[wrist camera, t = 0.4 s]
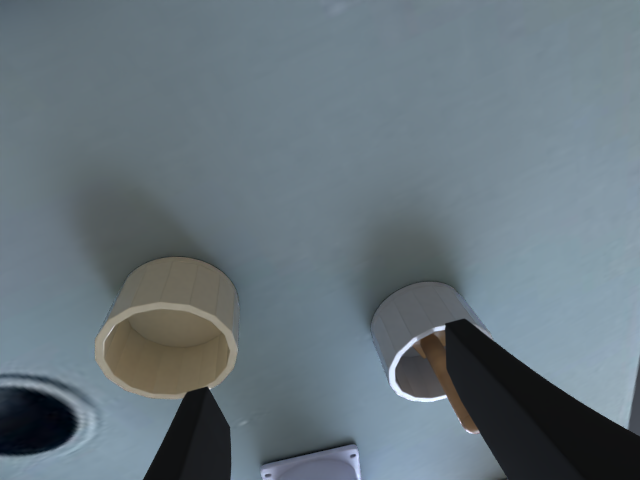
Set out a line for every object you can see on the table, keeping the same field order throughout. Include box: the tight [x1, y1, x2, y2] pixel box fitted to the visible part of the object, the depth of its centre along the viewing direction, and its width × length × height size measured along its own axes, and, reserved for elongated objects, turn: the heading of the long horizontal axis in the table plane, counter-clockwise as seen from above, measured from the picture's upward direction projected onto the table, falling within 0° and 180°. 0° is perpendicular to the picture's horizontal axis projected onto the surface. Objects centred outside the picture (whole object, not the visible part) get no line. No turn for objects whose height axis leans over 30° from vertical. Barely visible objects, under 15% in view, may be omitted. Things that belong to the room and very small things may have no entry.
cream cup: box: [95, 257, 240, 399], centre depth 20 cm, size 6×6×4 cm
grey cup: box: [371, 282, 494, 402], centre depth 23 cm, size 6×6×4 cm
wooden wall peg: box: [412, 330, 480, 434], centre depth 21 cm, size 3×2×7 cm
